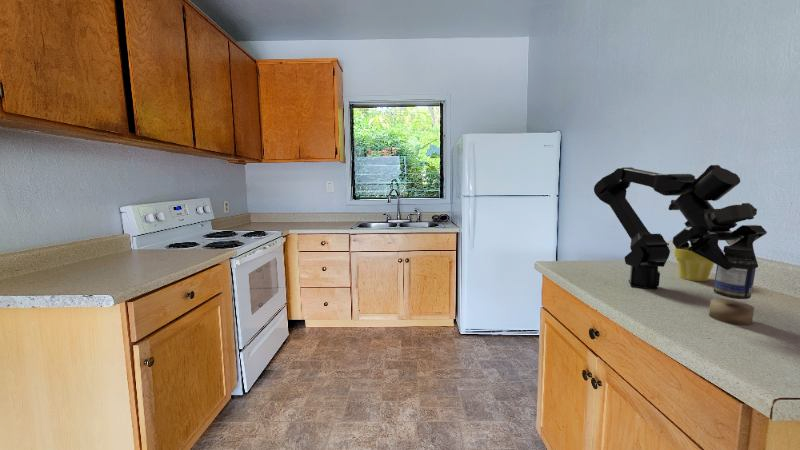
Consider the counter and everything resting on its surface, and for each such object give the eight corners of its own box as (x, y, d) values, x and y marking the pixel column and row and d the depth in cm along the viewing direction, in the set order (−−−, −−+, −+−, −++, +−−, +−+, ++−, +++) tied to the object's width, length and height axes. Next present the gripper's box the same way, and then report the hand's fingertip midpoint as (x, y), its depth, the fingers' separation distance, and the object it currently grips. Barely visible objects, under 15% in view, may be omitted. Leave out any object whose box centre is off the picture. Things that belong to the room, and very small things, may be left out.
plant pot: (683, 282, 102) (687, 251, 101) (665, 273, 112) (668, 244, 111) (723, 284, 100) (727, 252, 99) (701, 274, 110) (704, 246, 109)
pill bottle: (729, 290, 78) (736, 244, 77) (758, 300, 72) (767, 250, 71) (705, 290, 78) (712, 244, 76) (733, 300, 72) (741, 250, 70)
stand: (714, 321, 74) (716, 306, 74) (705, 310, 80) (706, 296, 80) (758, 327, 71) (760, 312, 70) (744, 316, 77) (746, 301, 77)
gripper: (689, 191, 75) (736, 250, 66) (763, 190, 77) (819, 247, 67) (656, 221, 84) (693, 276, 74) (722, 219, 85) (767, 273, 76)
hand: (742, 268), depth 73 cm, fingers closed on pill bottle, 6 cm apart
